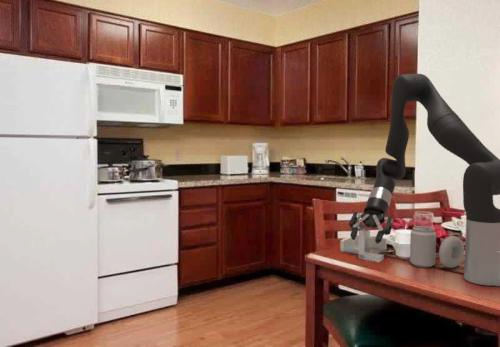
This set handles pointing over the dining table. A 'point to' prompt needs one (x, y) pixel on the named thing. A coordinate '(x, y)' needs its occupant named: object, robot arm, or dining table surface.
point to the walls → (349, 243)
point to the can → (423, 246)
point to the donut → (457, 252)
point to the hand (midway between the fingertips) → (364, 240)
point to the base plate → (355, 250)
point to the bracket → (367, 247)
